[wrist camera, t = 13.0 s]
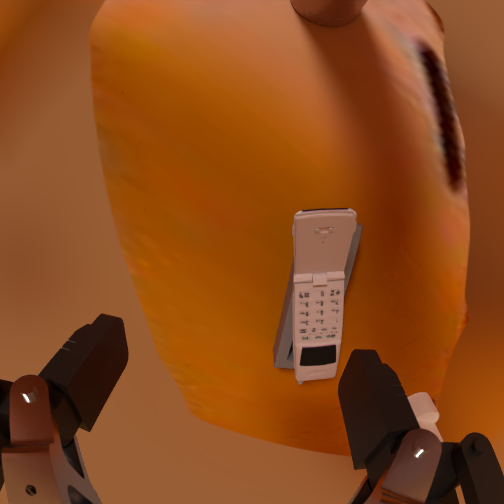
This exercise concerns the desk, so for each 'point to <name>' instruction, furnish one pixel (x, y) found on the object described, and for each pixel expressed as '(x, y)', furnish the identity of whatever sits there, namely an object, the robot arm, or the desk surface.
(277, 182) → the desk surface
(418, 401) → the cylinder with rectangular tab
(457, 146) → the desk surface
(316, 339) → the mobile phone
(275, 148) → the desk surface
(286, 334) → the pen tray
